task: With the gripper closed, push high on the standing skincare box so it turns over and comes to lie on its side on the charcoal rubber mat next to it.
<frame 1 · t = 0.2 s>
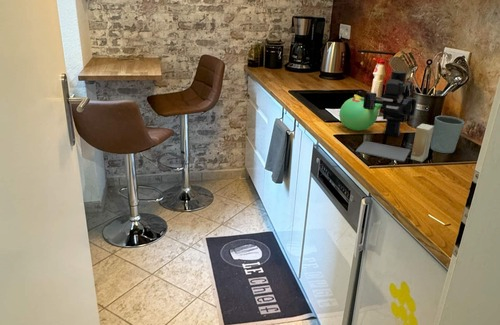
hand: (384, 109, 146), 17 cm above the worktop, tool horizontal, fingers open, 9 cm apart
grey cup: (442, 149, 157), on the worktop
green teapot: (357, 129, 177), on the worktop
skincare box: (418, 158, 148), on the worktop
mat: (383, 151, 153), on the worktop
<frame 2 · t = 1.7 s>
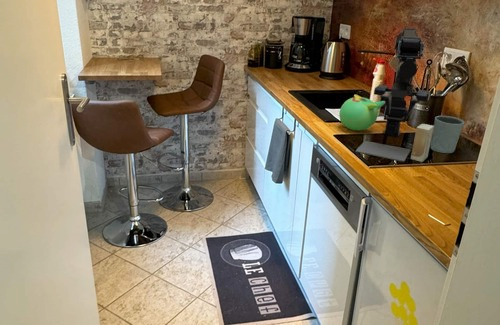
hand: (397, 115, 151), 13 cm above the worktop, tool pointing down, fingers open, 6 cm apart
nothing on the worktop moved.
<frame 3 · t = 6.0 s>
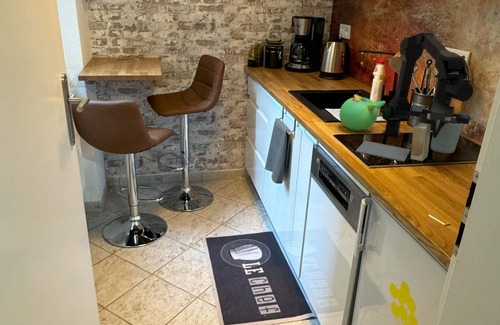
hand: (434, 137, 143), 9 cm above the worktop, tool pointing down, fingers closed
skincare box: (418, 158, 148), on the worktop, touching gripper
everything else where it was.
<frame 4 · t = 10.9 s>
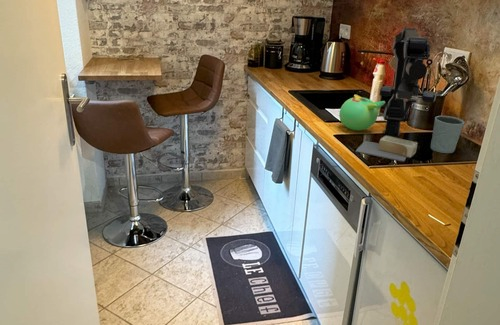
hand: (403, 116, 150), 13 cm above the worktop, tool pointing down, fingers closed
skincare box: (414, 150, 148), point 3 cm above the worktop, touching mat
everything else where it was.
at the end: skincare box tilted 90°; skincare box inside the target area (2.1 cm from its centre), point 2.6 cm above the worktop; skincare box touching mat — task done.
